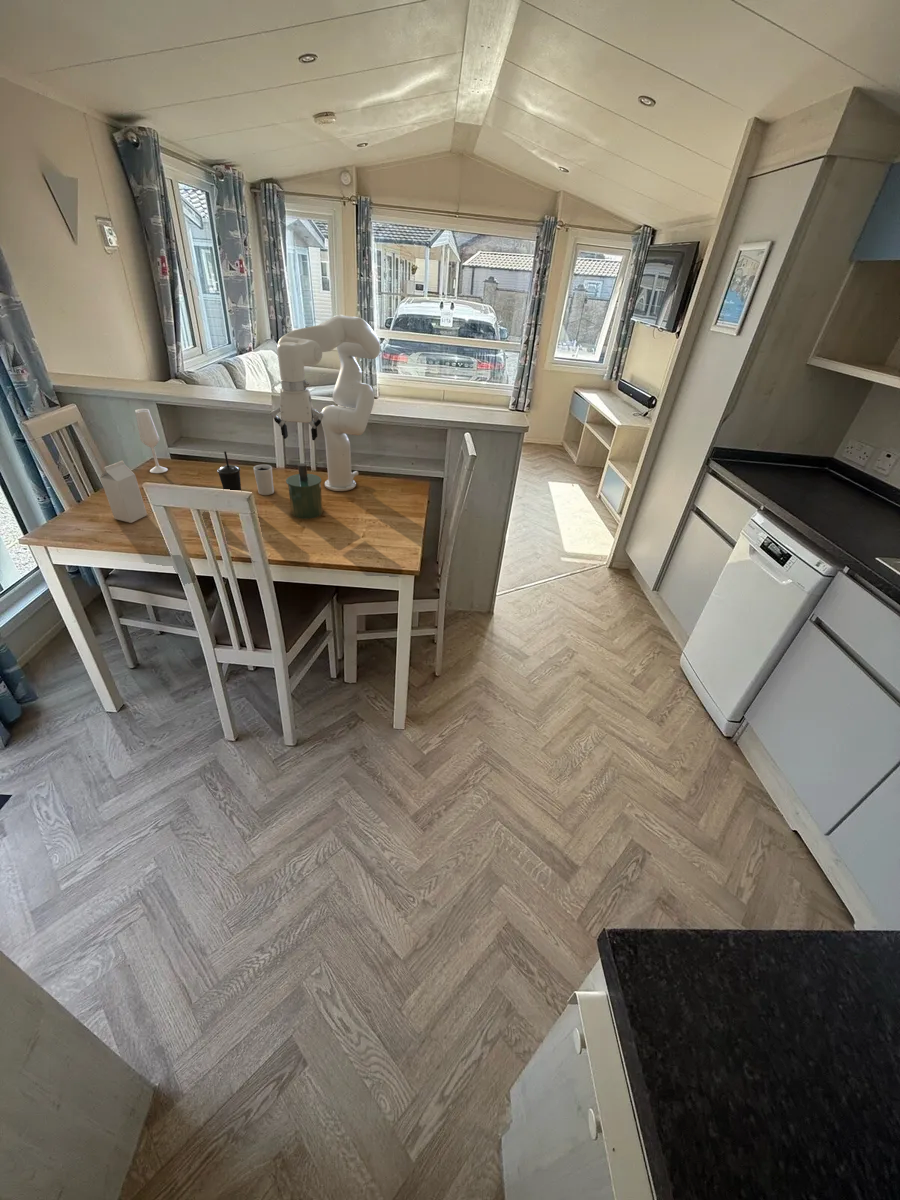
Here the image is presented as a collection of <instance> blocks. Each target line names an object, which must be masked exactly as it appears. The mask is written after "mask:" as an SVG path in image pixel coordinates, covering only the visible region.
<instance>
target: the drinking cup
mask: <svg viewBox="0 0 900 1200" xmlns="http://www.w3.org/2000/svg"><path fill="white" fill-rule="evenodd" d="M223 454H224V458H225V459H224V460H225V463H226V465H222V466H220V467H218V468H217V470H216V472H217V473H218V477H219V480H220V482H221V486H222V489H223V490H224V489H230V490H241V491H242V484H241V483H242V482H241V468H240V467H239V466H237V465H232V464H229V459H228V455H227V451H223Z"/></svg>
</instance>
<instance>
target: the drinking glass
mask: <svg viewBox="0 0 900 1200" xmlns="http://www.w3.org/2000/svg"><path fill="white" fill-rule="evenodd" d="M252 470H253V473H254V477H255V482H256V487H257V492H258V494H259V495H261V496H269V495H272V494H275V487H274V475H273V466H272V465H270V464H256V465H254V466H253V469H252Z"/></svg>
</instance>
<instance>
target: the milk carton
mask: <svg viewBox="0 0 900 1200" xmlns="http://www.w3.org/2000/svg"><path fill="white" fill-rule="evenodd" d="M103 469H104V471H103V473H102V474H101V475H100V477H99V478H100V482H101V485H102V487H103V490H104V493H105V496H106V499H107V501H108V504H109V507H110V510H111V513H112V516H113V518H114V520H117V521H120V522H125V523H129V524H132V523H135V522H136V521H139V520H140V519H142V518H145V517H146V516H148V511H147V509H146V506H145V502H144V499H143V496H142V492H141V489H140V486H139V482H138V480H137V476H136V474H135V473H134V472H133V471H132V470H131V469H130V468H129V467H128V466H127V465H126V464H125V462H124V460H120V461H118V462H115V463H112V464H109V465H106V466H104V467H103Z"/></svg>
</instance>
